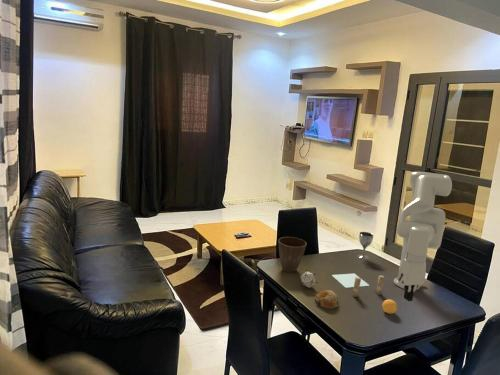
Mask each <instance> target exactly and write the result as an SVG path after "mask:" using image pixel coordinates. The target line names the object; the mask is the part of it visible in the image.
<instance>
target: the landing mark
mask: <svg viewBox="0 0 500 375" xmlns="http://www.w3.org/2000/svg"><path fill="white" fill-rule="evenodd" d="M331 276H332V277H333V278H334V279H335V280H336V281H337V282H338V283H340V285H341V286H342V287H344V288H345V289H349V288H354V282H355V277H359V278H361V277H360V276H359V275H357V274H356V273H343V274H342V273H339V274H331ZM363 287H370V284H369V283H368V282H366V281H365V280H363V279H362V278H361V281H360V288H363Z"/></svg>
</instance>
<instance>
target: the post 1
mask: <svg viewBox="0 0 500 375" xmlns="http://www.w3.org/2000/svg"><path fill="white" fill-rule="evenodd" d="M359 277H360V276H358V277H355V282H354V287H353V291H352V297H354V298H358V297H359V294H360V288H361V287H360V281H361V279H362V278H361V277H360V278H359Z"/></svg>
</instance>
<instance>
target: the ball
mask: <svg viewBox="0 0 500 375" xmlns="http://www.w3.org/2000/svg"><path fill="white" fill-rule="evenodd" d="M397 309H398V306H397V303H396V302H395V300H393V299H391V298H390V299H389V298H388V299H386V300H384V301H383V302H382V310H383V311H384V312H385V313H387V314H389V315H391V314H394V313H395V312H396V311H397Z"/></svg>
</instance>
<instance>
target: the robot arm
mask: <svg viewBox="0 0 500 375" xmlns="http://www.w3.org/2000/svg"><path fill="white" fill-rule="evenodd" d="M409 184H410V188H411V189H410V190H411V191H412V192H411V193H412V199H411V202H410V203H408V204H407V205H406V206H404V207H403V208H402V210H401V212H400V213H399V216H398V221H397V226H396V233H397V235H398V236H399V237H400V238H402V239H403V241H402V249H401V257H400V263H399V269H398V273H397V277H395V278H394V279H393V284H395V286H397V287H399V288H401V289H404V294H403V299H404V300H406V301H408V302H412V301H413V298H414V293H415V292H416V291H417V290H420V288H421V286H423V284H424V282H425V280H426V273H427V262H426V260H427V258H428V254H427V253H428V249H432V250H438V249H439V248H440V247H441V245H442V240H443V234H444V230H445V224H446V212H445V211H444V210H443V209H442V208H438V207H434V206H435V199H436V196H442V197H448V196H449V195H450V194H451V192H452V189H453V182H452V178H451V177H450V175H447V174H441V173H435V172H428V171H413V172H412V173H411V174H410V176H409ZM408 217H409V220H408V219H407V218H408Z"/></svg>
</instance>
